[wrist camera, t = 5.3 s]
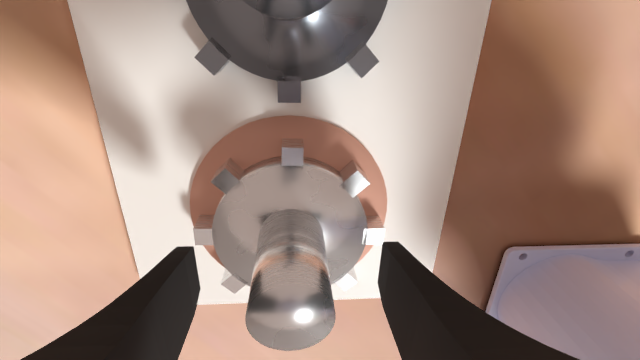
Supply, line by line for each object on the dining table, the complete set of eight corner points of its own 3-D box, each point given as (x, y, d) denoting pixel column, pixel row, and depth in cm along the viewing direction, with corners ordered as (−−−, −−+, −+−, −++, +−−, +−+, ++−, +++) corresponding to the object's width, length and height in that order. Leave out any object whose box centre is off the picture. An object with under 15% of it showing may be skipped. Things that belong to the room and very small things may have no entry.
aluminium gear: (389, 140, 15) (444, 206, 10) (368, 289, 19) (399, 396, 13) (190, 135, 14) (127, 204, 9) (209, 291, 18) (173, 407, 13)
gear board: (506, -170, 12) (538, -198, 11) (418, 278, 21) (428, 298, 19) (40, -207, 11) (-1, -245, 9) (157, 287, 20) (145, 309, 18)
